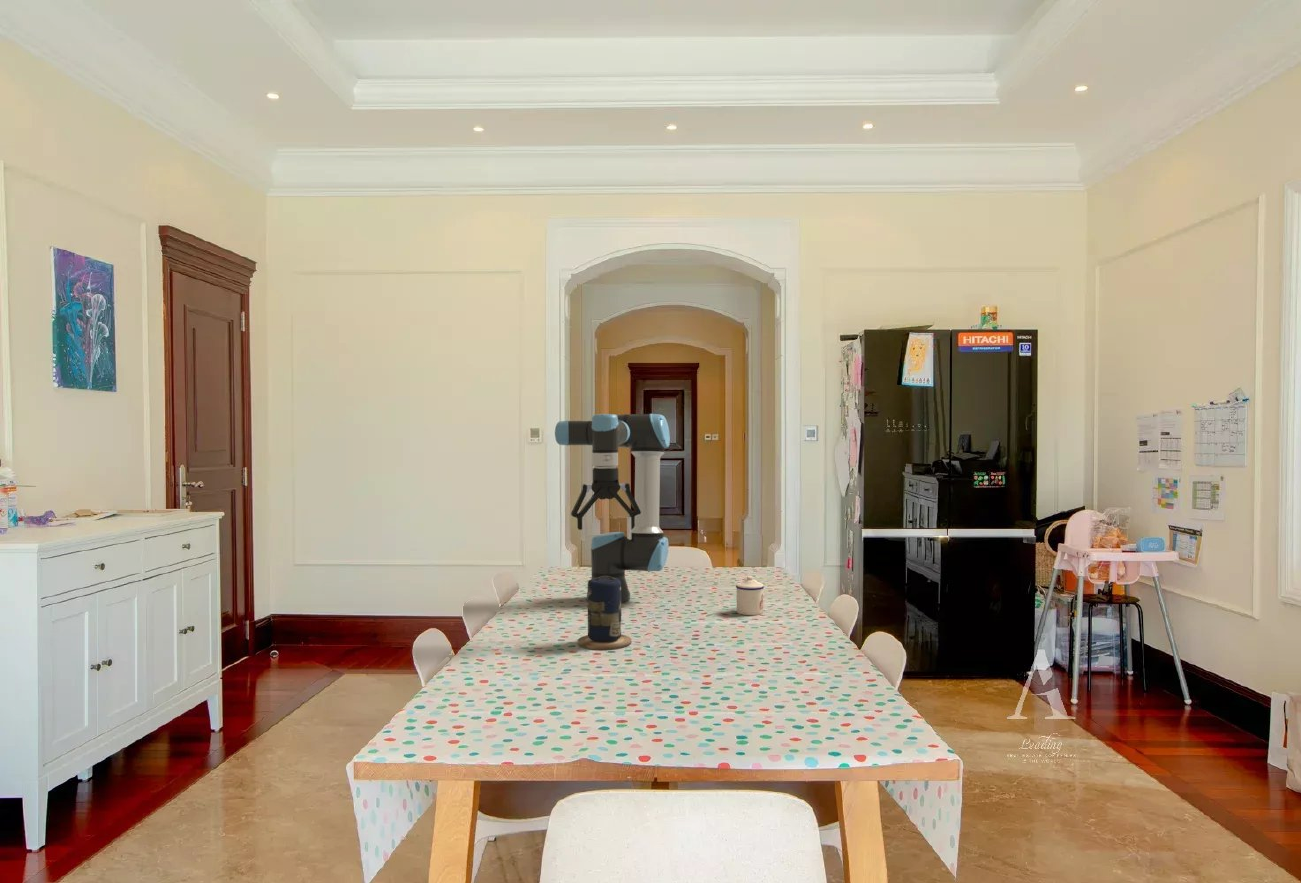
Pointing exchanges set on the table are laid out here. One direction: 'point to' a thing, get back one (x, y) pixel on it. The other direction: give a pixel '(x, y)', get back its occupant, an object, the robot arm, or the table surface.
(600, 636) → the canister
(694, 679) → the table surface
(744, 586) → the teacup with lid
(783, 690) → the table surface
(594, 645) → the brown plate
